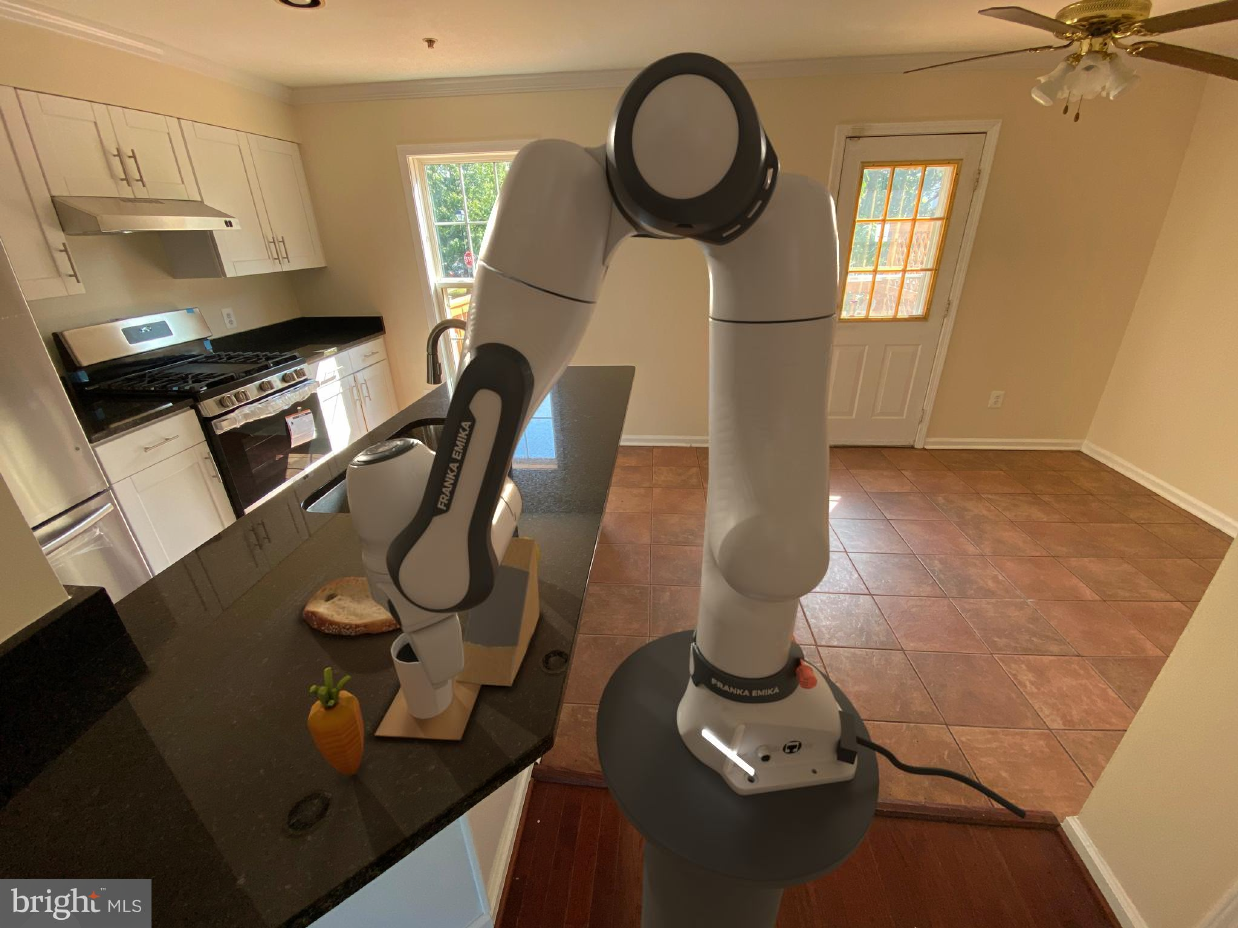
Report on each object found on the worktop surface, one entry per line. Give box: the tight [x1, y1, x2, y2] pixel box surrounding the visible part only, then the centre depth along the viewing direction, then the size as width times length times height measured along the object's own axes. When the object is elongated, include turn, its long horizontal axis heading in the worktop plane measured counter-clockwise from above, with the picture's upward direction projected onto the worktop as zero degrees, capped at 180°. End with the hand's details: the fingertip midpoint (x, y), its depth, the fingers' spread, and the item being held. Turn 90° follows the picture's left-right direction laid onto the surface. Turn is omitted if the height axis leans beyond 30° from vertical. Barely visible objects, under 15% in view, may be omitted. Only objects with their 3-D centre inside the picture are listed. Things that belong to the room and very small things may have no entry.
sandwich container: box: [456, 536, 540, 687], centre depth 74 cm, size 9×15×15 cm, turn 173°
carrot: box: [307, 666, 365, 776], centre depth 55 cm, size 5×5×15 cm
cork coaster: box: [374, 675, 483, 741], centre depth 67 cm, size 11×11×1 cm
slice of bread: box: [301, 576, 401, 637], centre depth 84 cm, size 18×18×4 cm
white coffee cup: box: [390, 632, 453, 719], centre depth 65 cm, size 7×7×10 cm
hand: (426, 660), depth 64 cm, fingers open, 8 cm apart
